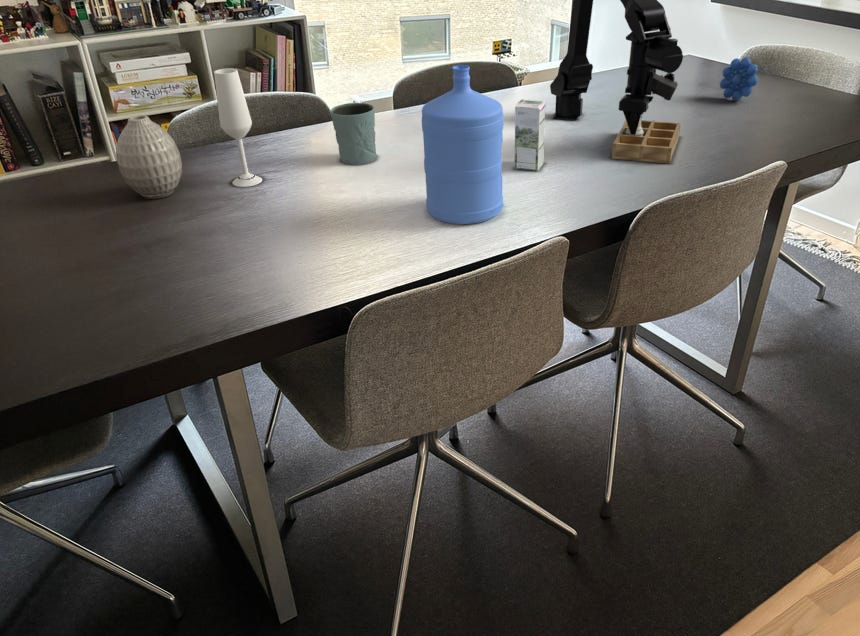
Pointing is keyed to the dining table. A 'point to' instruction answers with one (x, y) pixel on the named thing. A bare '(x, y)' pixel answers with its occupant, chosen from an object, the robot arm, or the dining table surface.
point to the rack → (648, 142)
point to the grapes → (739, 79)
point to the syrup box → (529, 134)
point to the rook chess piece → (639, 130)
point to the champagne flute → (234, 116)
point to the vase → (148, 158)
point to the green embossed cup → (355, 132)
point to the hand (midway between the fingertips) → (634, 131)
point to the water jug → (463, 153)
